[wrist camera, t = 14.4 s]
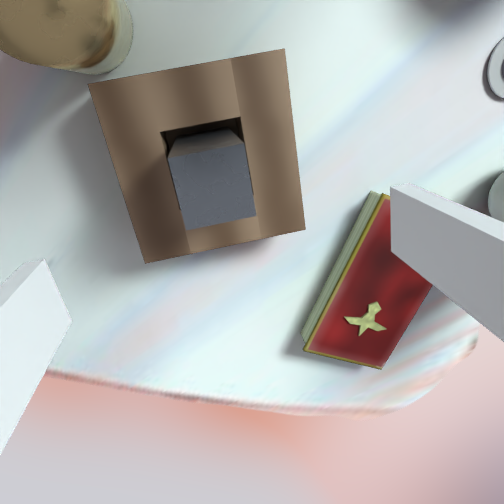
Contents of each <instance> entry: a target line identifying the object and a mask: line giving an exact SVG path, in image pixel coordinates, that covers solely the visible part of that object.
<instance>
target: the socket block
mask: <svg viewBox="0 0 504 504" xmlns="http://www.w3.org/2000/svg"><path fill="white" fill-rule="evenodd" d="M88 87H89V90H90V93H91V96H92V99H93V102H94V105H95V109H96V112H97V115H98V118H99V121H100V124H101V127H102V130H103V134H104V137H105V140H106V143H107V146H108V149H109V152H110V155H111V159H112V162H113V165H114V168H115V171H116V174H117V177H118V180H119V183H120V187H121V190H122V193H123V196H124V199H125V202H126V205H127V208H128V212H129V215H130V218H131V221H132V224H133V227H134V230H135V233H136V237H137V240H138V243H139V246H140V249H141V252H142V255H143V258H144V262H145V264H146V263H150V262H155V261H160V260H164V259H169V258H174V257H179V256H183V255H188V254H193V253H197V252H202V251H207V250H212V249H216V248H221V247H226V246H230V245H235V244H240V243H245V242H249V241H254V240H259V239H263V238H268V237H273V236H278V235H282V234H287V233H292V232H296V231H301V230H306V228H305V220H304V211H303V203H302V194H301V185H300V177H299V168H298V160H297V151H296V142H295V134H294V125H293V116H292V108H291V99H290V91H289V82H288V73H287V65H286V56H285V49H279V50H273V51H268V52H262V53H257V54H251V55H246V56H240V57H235V58H229V59H223V60H218V61H212V62H207V63H201V64H196V65H190V66H185V67H179V68H173V69H168V70H162V71H157V72H151V73H146V74H140V75H135V76H129V77H123V78H118V79H112V80H107V81H101V82H96V83H90V84H88ZM225 126H227V127H228V128H229V129H230V130H231V131H232V132H233V133H234V134H235V135H236V136H237V137H238V138H239V139H240V140H241V141H242V142H243V143H244V145H245V151H246V157H247V163H248V169H249V174H250V180H251V186H252V192H253V198H254V204H255V209H256V215H257V216H254V217H249V218H244V219H239V220H235V221H230V222H225V223H220V224H215V225H211V226H206V227H201V228H196V229H191V230H187V231H186V228H185V224H184V220H183V216H182V212H181V209H180V205H179V201H178V197H177V193H176V189H175V185H174V182H173V178H172V174H171V170H170V166H169V162H168V156H169V153H170V151H171V149H172V146H173V144H174V142H175V139H176V137H177V136H178V135H183V134H188V133H194V132H199V131H204V130H209V129H215V128H220V127H225Z"/></svg>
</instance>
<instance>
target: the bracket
mask: <svg viewBox="0 0 504 504" xmlns="http://www.w3.org/2000/svg"><path fill="white" fill-rule="evenodd" d="M487 76H488V82H489V85H490V88H491V90H492V91H493V92H494V93H495V94H496V95H497V96H499V97H501V98H504V38H503V39H502V40H501V41H500V42H499V43H498V44H497V46H496V47H495V49H494V50H493V52H492V54H491V57H490V60H489V63H488V70H487Z"/></svg>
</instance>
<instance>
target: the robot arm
mask: <svg viewBox="0 0 504 504" xmlns="http://www.w3.org/2000/svg"><path fill="white" fill-rule="evenodd" d="M390 208H391V252H393V253H394V254H395V255H396V256H398V257H399V258H400V259H401V260H403V261H404V262H405V263H406V264H408V265H409V266H410V267H411V268H412V269H414V270H415V271H416V272H417V273H419V274H420V275H421V276H422V277H424V278H425V279H426V280H427V281H429V282H430V283H431V284H432V285H434V286H435V287H436V288H437V289H439V290H440V291H441V292H442V293H443V294H445V295H446V296H447V297H448V298H450V299H451V300H452V301H453V302H455V303H456V304H457V305H458V306H460V307H461V308H462V309H463V310H465V311H466V312H467V313H468V314H470V315H471V316H472V317H473V318H475V319H476V320H477V321H478V322H479V323H481V324H482V325H483V326H485V327H486V328H487V329H488V330H489V331H491V332H492V333H493V334H495V335H496V336H497V337H498V338H499V339H501V340H502V341H503V342H504V222H501V221H499V220H497V219H494V218H492V217H490V216H487V215H485V214H482V213H480V212H478V211H475V210H473V209H470V208H468V207H466V206H463V205H461V204H458V203H456V202H454V201H451V200H449V199H447V198H444V197H442V196H439V195H437V194H435V193H432V192H430V191H427V190H425V189H423V188H420V187H418V186H415V185H413V184H411V183H406V184H401V185H396V186H392V187H390ZM71 323H72V319H71V317H70V315H69V312H68V310H67V308H66V306H65V303H64V301H63V299H62V297H61V294H60V292H59V290H58V288H57V285H56V283H55V281H54V279H53V276H52V274H51V272H50V270H49V267H48V265H47V263H46V261H45V259H41V260H36V261H31V262H27V263H23V264H22V265H21V266H20V267H19V268H18V269H17V270H16V271H15V272H14V273H13V274H12V275H11V276H10V277H9V278H8V279H7V280H6V281H5V282H4V283H3V284H2V285H1V286H0V455H1V453H2V452H3V449H4V448H5V446H6V444H7V442H8V440H9V438H10V437H11V435H12V433H13V431H14V429H15V427H16V425H17V424H18V422H19V420H20V418H21V416H22V414H23V412H24V411H25V409H26V407H27V405H28V403H29V401H30V399H31V397H32V396H33V394H34V392H35V390H36V388H37V386H38V384H39V382H40V381H41V379H42V377H43V375H44V373H45V371H46V370H47V368H48V366H49V364H50V362H51V360H52V358H53V357H54V355H55V353H56V351H57V349H58V347H59V345H60V343H61V342H62V340H63V338H64V336H65V334H66V332H67V330H68V329H69V327H70V325H71Z"/></svg>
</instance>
